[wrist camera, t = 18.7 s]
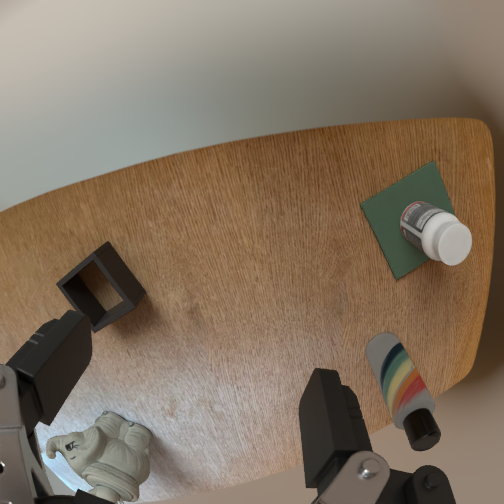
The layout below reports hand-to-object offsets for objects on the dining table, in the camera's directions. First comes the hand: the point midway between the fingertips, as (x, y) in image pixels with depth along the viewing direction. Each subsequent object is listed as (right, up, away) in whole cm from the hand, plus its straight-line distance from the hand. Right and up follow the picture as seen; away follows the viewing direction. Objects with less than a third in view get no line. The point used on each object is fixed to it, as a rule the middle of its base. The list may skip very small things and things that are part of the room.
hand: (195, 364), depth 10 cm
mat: (+24, +8, +28) cm, 38 cm away
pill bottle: (+24, +8, +28) cm, 37 cm away
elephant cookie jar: (-26, -31, +44) cm, 60 cm away
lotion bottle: (+22, -11, +35) cm, 43 cm away
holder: (-19, 0, +33) cm, 38 cm away
